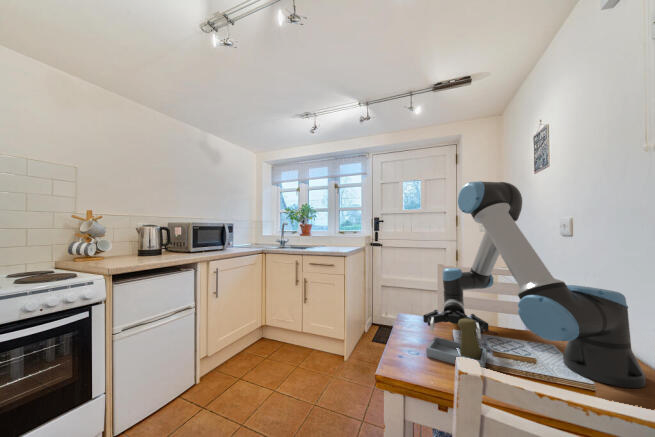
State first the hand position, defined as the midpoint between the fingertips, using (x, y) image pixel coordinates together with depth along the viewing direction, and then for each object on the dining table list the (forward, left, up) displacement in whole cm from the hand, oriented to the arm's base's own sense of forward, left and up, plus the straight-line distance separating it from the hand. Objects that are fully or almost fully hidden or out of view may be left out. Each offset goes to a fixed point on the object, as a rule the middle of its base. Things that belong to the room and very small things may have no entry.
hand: (454, 330), depth 78 cm
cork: (-4, -2, -8) cm, 9 cm away
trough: (0, 0, -8) cm, 8 cm away
